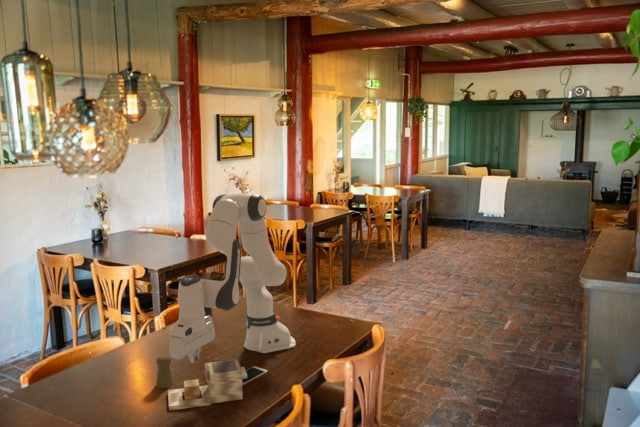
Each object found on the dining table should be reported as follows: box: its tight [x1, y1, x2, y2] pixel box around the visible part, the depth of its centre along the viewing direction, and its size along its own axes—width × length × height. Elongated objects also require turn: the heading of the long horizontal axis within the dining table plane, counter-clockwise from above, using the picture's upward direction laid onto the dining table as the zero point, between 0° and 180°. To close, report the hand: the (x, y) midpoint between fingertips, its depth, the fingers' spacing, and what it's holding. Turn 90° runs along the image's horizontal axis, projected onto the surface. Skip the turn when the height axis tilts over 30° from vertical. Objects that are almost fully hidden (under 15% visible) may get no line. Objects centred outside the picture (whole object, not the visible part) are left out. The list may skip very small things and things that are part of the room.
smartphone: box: [242, 365, 268, 386], centre depth 212 cm, size 8×1×15 cm
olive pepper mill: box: [155, 354, 174, 389], centre depth 203 cm, size 6×6×11 cm
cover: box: [204, 362, 247, 384], centre depth 195 cm, size 14×7×4 cm, turn 107°
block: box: [183, 378, 201, 400], centre depth 193 cm, size 5×5×6 cm
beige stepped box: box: [167, 359, 243, 411], centre depth 193 cm, size 25×12×11 cm, turn 107°
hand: (194, 361), depth 191 cm, fingers closed
